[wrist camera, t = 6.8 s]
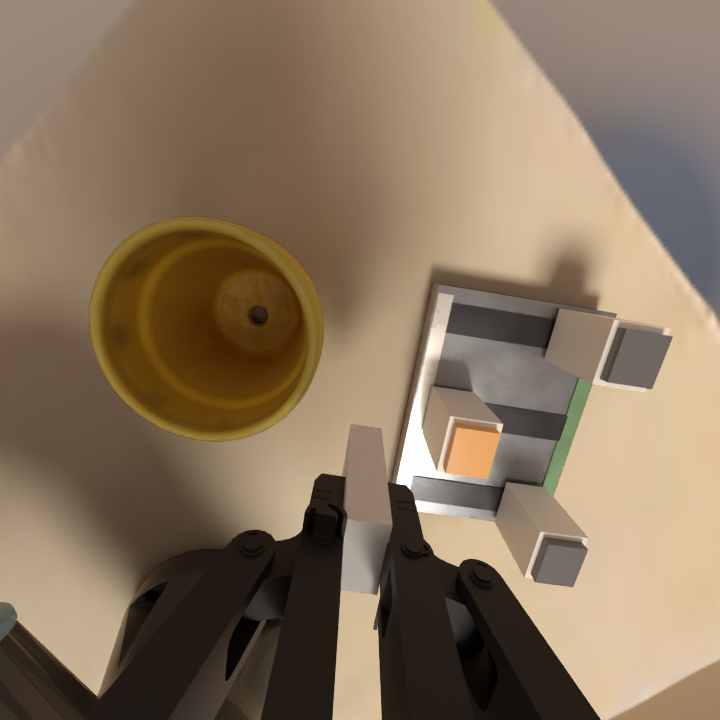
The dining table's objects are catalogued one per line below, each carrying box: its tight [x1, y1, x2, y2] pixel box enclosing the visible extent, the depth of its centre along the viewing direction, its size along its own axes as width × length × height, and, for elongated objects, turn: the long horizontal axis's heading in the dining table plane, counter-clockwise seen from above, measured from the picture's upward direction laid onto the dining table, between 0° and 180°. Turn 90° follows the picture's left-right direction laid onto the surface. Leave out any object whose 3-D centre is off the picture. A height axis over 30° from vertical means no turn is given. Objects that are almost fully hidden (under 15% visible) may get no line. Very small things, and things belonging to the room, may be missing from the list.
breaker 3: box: [544, 309, 672, 392], centre depth 20 cm, size 3×4×6 cm
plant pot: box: [89, 217, 324, 442], centre depth 20 cm, size 10×10×10 cm
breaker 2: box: [495, 482, 588, 587], centre depth 23 cm, size 3×4×6 cm
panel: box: [391, 283, 617, 522], centre depth 26 cm, size 12×17×2 cm
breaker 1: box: [422, 386, 503, 479], centre depth 22 cm, size 3×4×6 cm
